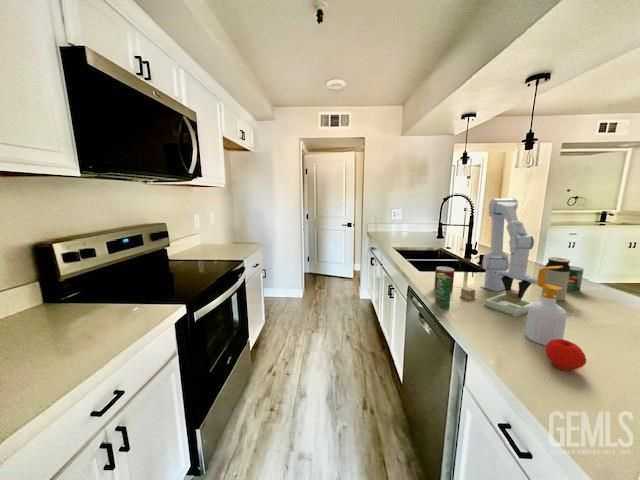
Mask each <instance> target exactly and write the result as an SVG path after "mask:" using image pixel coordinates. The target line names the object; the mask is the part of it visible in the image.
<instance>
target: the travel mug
mask: <svg viewBox="0 0 640 480" xmlns="http://www.w3.org/2000/svg"><path fill="white" fill-rule="evenodd" d="M547 260H548V262H547V263H545V268H546V267H550V266H563V267H562V268H559V269H547V271H546V277H545V282H546V284H549V285H554V286H558V287H561V288H562V290H559V291H556V292H554V294H553V295H555V296H556V297H557V298H556V302H561V301H565V299H566V296H567V295H566V294H567V291H566V290H567V284H568V278H569V273H570V266H571V265H570V263H571V261H572V260H570V259H568V258H565V257H559V256H557V257H556V256H548V257H547ZM541 288H542V287H541ZM546 292H547V291H546V290H545V288H542V289H541V296H543V294H546Z"/></svg>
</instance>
